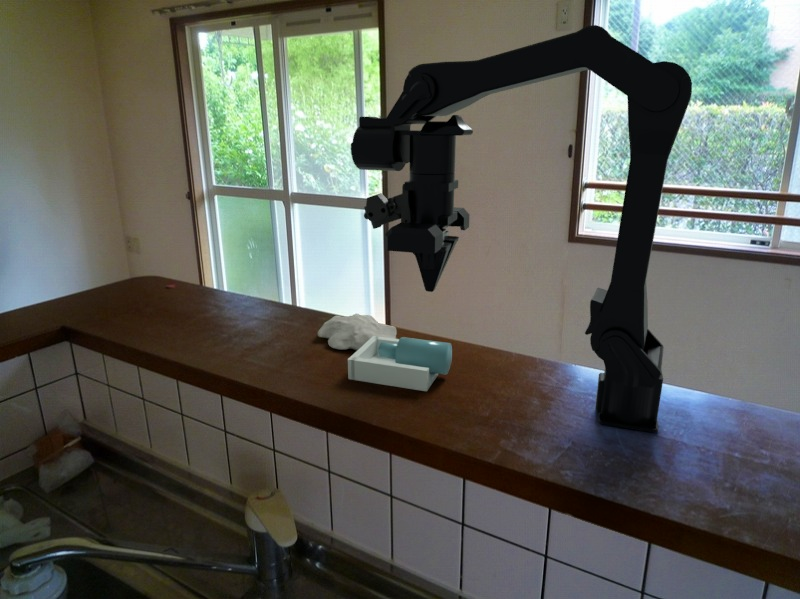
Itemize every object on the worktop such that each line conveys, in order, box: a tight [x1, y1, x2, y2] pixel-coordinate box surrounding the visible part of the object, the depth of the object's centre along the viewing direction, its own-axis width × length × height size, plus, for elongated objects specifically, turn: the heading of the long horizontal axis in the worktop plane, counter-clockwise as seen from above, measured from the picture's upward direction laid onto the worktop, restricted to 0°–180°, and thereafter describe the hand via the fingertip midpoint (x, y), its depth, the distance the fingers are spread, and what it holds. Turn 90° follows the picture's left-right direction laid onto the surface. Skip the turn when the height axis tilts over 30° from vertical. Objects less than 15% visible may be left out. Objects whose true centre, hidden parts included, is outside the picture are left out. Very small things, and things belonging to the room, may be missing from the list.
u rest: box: [347, 336, 439, 392], centre depth 80 cm, size 12×9×3 cm
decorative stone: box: [317, 313, 398, 351], centre depth 91 cm, size 11×4×15 cm
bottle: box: [378, 336, 453, 376], centre depth 78 cm, size 4×4×10 cm
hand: (430, 290), depth 75 cm, fingers closed
